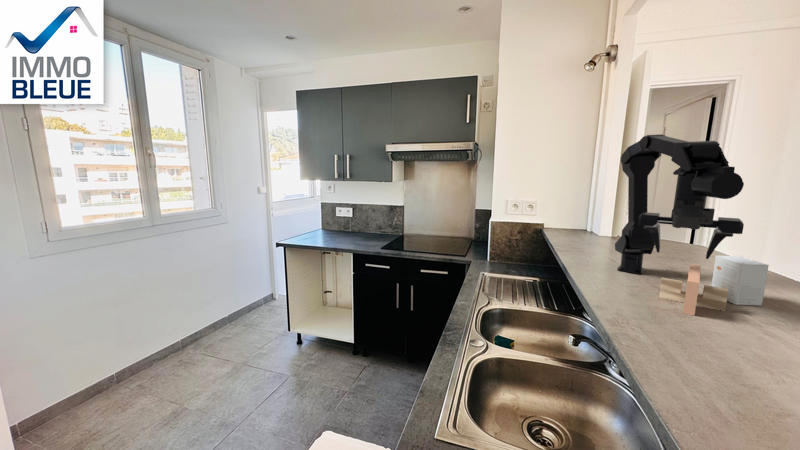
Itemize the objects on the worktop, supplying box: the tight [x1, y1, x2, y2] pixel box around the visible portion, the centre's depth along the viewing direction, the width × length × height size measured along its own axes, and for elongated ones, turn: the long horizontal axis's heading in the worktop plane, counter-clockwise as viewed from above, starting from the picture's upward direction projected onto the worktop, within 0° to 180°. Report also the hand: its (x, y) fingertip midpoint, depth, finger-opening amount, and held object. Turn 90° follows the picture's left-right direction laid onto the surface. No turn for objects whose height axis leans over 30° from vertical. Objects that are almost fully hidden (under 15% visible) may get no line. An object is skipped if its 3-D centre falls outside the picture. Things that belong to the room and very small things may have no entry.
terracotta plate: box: [682, 263, 701, 316], centre depth 76 cm, size 16×2×8 cm, turn 135°
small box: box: [711, 255, 770, 306], centre depth 78 cm, size 8×6×10 cm
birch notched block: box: [658, 277, 728, 312], centre depth 77 cm, size 2×12×5 cm, turn 45°
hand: (681, 255), depth 78 cm, fingers open, 9 cm apart
